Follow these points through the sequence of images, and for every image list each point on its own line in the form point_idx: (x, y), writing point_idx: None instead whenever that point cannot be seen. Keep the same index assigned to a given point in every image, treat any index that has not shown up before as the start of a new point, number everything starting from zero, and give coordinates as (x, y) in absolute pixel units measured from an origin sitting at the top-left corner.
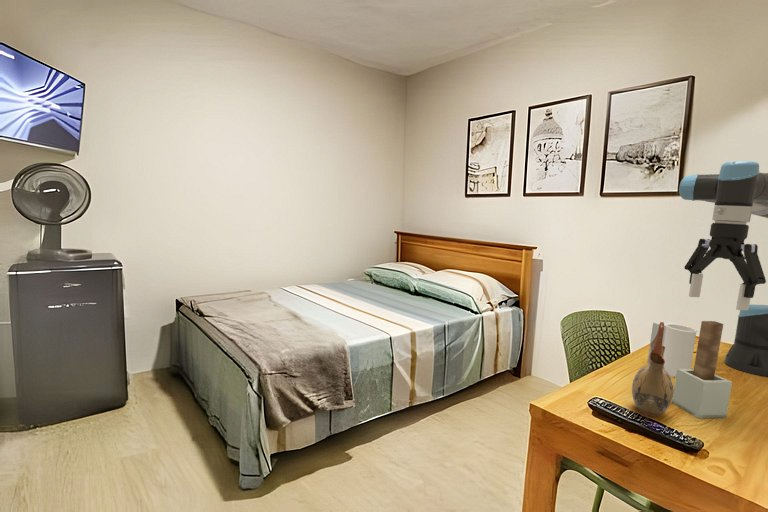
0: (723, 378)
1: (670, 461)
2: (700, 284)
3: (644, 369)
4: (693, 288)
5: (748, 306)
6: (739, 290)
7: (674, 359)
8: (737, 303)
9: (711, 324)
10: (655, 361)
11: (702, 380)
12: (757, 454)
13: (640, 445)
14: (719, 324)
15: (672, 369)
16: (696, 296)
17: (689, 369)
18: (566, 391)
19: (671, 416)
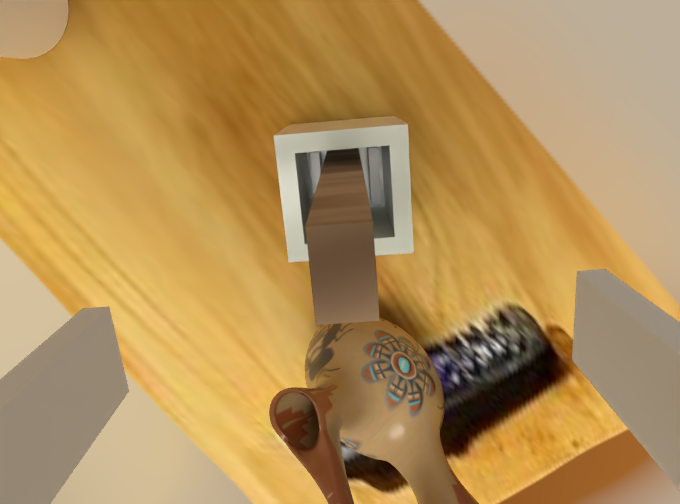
0: (372, 131)
1: (583, 439)
2: (41, 390)
3: (373, 456)
4: (87, 433)
5: (621, 286)
6: (673, 479)
7: (11, 36)
8: (602, 391)
9: (377, 308)
10: (422, 488)
11: (397, 246)
12: (582, 205)
13: (521, 462)
14: (374, 251)
15: (40, 42)
16: (113, 341)
17: (287, 210)
18: (257, 493)
19: (389, 292)
